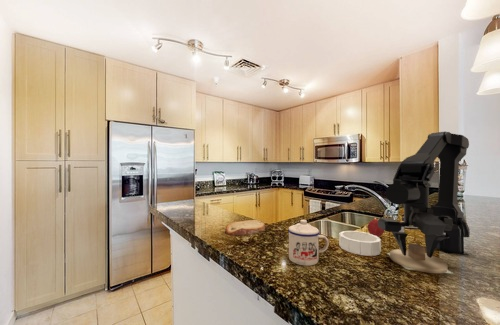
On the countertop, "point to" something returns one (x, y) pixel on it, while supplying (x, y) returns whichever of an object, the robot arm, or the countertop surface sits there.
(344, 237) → the bowl
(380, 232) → the onion
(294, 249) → the teacup with lid
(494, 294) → the countertop surface
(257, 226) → the bread slice
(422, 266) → the lid
